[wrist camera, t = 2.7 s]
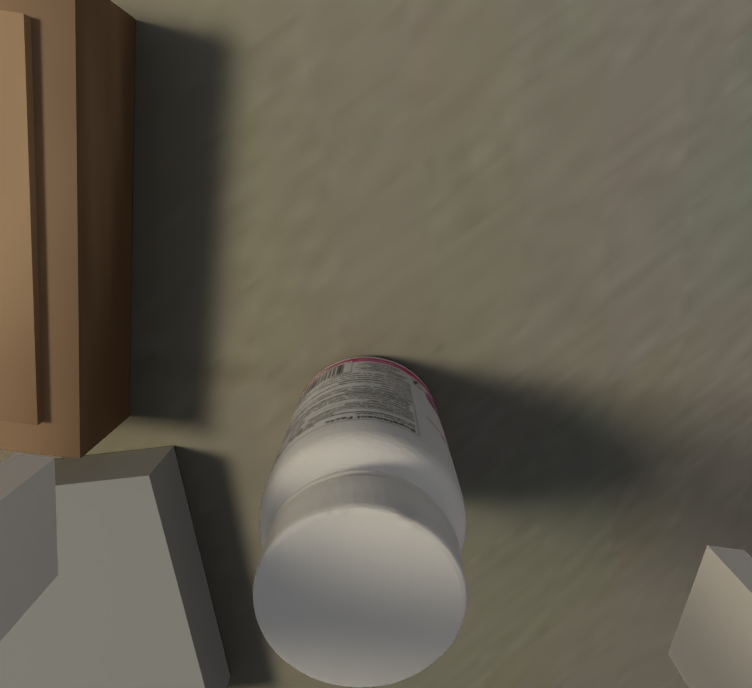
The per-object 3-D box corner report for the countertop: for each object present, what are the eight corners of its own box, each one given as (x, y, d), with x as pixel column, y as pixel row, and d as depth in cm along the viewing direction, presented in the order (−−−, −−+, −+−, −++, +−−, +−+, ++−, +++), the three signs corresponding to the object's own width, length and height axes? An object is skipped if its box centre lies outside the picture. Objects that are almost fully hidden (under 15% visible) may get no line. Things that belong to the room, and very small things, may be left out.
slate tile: (-16, 700, 21) (-55, 750, 19) (-106, 477, 18) (-163, 509, 16) (230, 676, 21) (214, 725, 19) (173, 446, 18) (148, 475, 16)
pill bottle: (436, 483, 18) (481, 709, 10) (299, 482, 18) (236, 707, 10) (440, 352, 17) (497, 490, 9) (294, 351, 17) (218, 489, 9)
